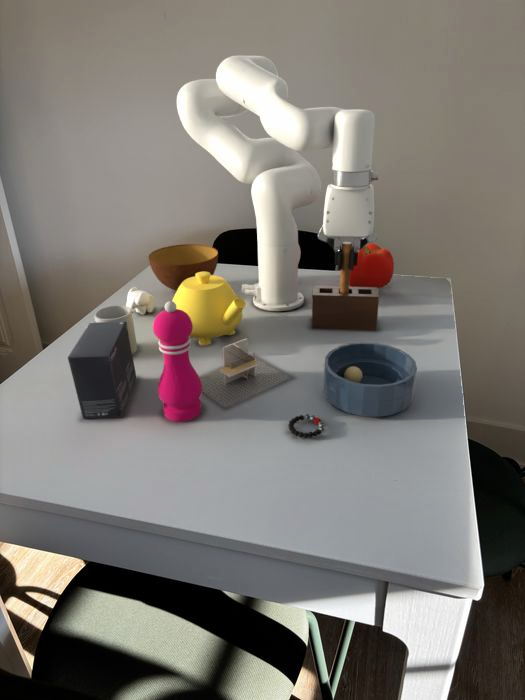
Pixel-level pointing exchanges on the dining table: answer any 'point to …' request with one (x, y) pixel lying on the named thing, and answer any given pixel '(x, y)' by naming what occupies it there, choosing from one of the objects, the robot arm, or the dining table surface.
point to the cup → (118, 314)
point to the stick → (345, 267)
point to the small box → (103, 369)
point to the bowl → (182, 263)
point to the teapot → (209, 306)
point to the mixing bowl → (370, 379)
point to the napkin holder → (240, 376)
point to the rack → (345, 308)
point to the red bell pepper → (372, 268)
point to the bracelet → (310, 434)
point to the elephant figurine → (140, 301)
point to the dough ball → (353, 374)
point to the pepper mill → (177, 365)
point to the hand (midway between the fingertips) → (345, 267)
